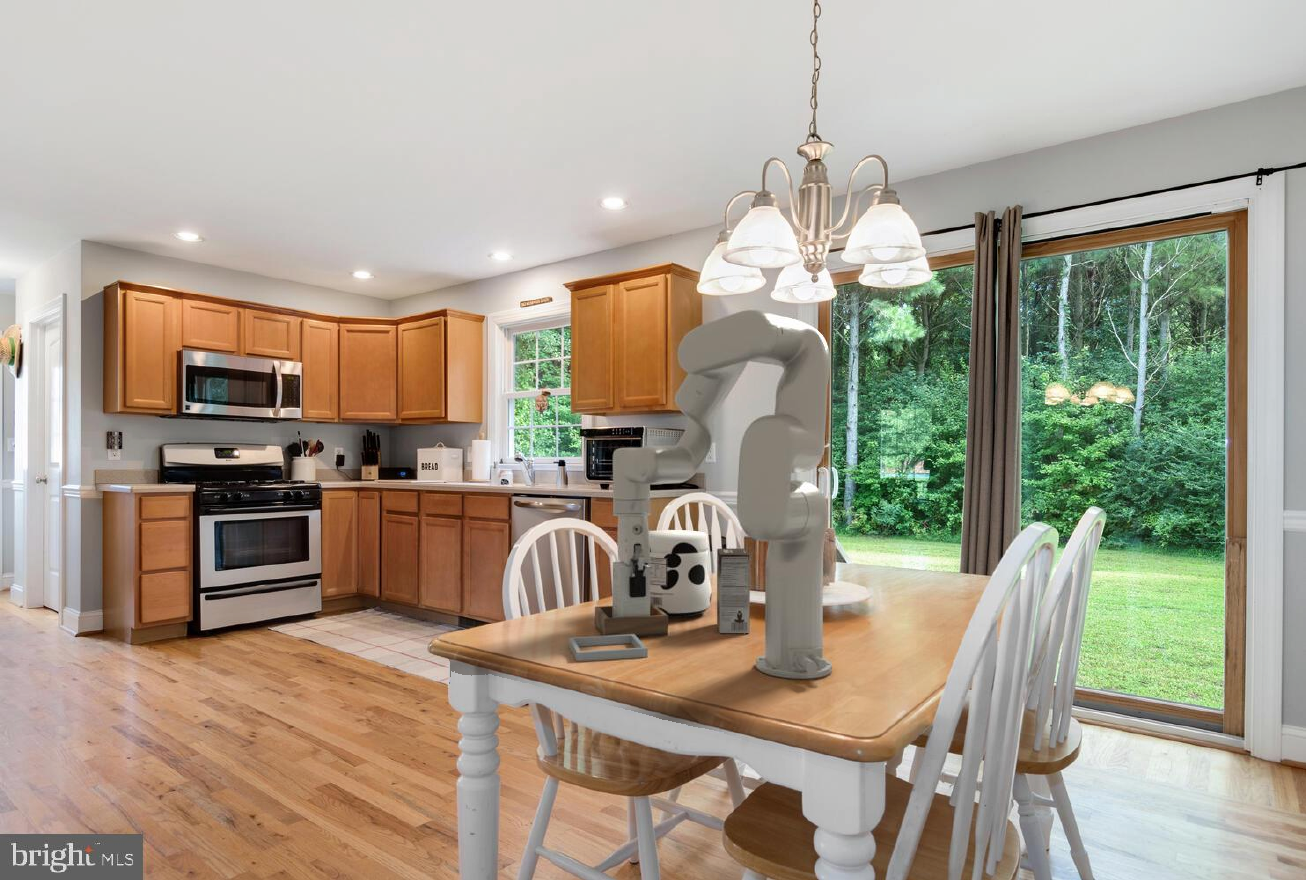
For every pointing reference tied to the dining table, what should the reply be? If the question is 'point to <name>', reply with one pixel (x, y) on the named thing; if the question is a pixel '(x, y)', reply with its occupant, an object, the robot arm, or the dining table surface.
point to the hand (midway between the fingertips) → (632, 592)
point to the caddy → (632, 623)
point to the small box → (628, 593)
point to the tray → (580, 655)
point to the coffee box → (733, 590)
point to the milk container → (679, 572)
